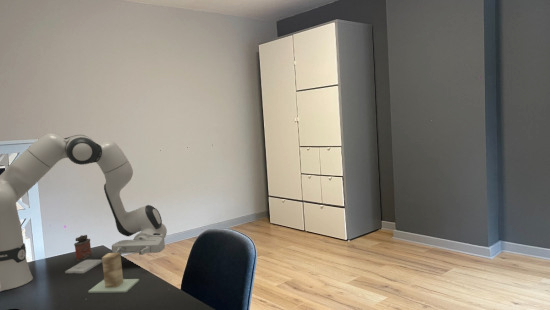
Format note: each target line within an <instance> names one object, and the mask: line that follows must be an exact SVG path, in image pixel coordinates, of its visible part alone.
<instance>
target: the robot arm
mask: <svg viewBox="0 0 550 310" xmlns="http://www.w3.org/2000/svg"><path fill="white" fill-rule="evenodd" d="M64 159H69V160H70V161H71V162H72V163H74V164H76V165H82V166H84V165H88V164H92V163H96V164H97V165H98V167H99V169H100V170H101V171H102V173H103V175H104V179H105V182H104V184H103V190H104V193H105V197H106V200H107V203H108V205H109V207H110V210H111V212H112V216H113V218H114V222H115V226H116V229H117V232H119V234H121V235H123V236H125V237H132V236H133V235H134V237H133V239H123V240H119V241H116V242H115V243H113V244H112V245H111V253H120V255H121V256H122V255H123V254H138V255H140V256H143V255H145V254H155V253H161V252H162V251H163V250H165V247H166V246H165V245H166V244H165V243H166V241H165V238H166V237H167V234H168V233H167V232H168V231H167V227H166V225H165V224H164V223H162V222H163V220H162V217H161V214H160V211H159V210H158V209H157V208H156V207H154V206H153V205H151V204H147V205H144V206H141V207H138V208H137V209H134V210H131V211H126V208H125V206H124V204H123V201H122V198H121V194H120V193H121V191H122V190H123V189H124V188H125V187H126V186H127V185H128V184H129V183H130V182H131V180H132V178H133V175H134V169H133V167H132V165H131V162H130V161H129V159H128V157H127V156H126V155H125V153H124V152H123V150H122V149H121V148H120V146H119V145H118V143H116V142H115V141H112V140H105V141H102V142H99V143H96V141H94V140H93V139H92V138H91V137H89V136H86V135H84V134H76V135H72V136H69V137H65V138H63V137H62V136H60V135H59V134H56V133H53V132H50V133H46V134H45V135H43V136H41V137H40V138H38V139H37V140H36V141H34V143H32V144H30V146H29V147H27V148H26V149H25V150H24V151H23V152H22V153H21V154H20V155H19V156H18V157H17V158H16V159H15V160H14V161H13V162H12V163H11V164H10V165H9V166H7V168H6V169H5V170H4V171H3V172H2V173H1V174H0V292H3V291H7V290H12V289H15V288H19V287H21V286H24V285H26V284H28V283H30V282H31V281H33V280H34V277H33V275H32V272H31V270H30V268H29V263H28V260H27V250H26V249H27V248H26V244H25V243H24V236H23V229H22V222H21V220H20V216H19V211H18V207H17V202H18V201H19V200H21V198H22V197H23V196H24V195H25V194H27V193H28V192H29V190H31V189H32V188H33V187H34V186H35V185H36V184H37V183H38V182H39V181H40V180H41V179H42V178H43V177H45V175H46V174H47V173H48V172H49V171H50V170H52V169H53V167H54V166H55V165H57V163H59V161H61V160H64ZM135 234H136V235H135Z"/></svg>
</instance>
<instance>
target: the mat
mask: <svg viewBox="0 0 550 310" xmlns="http://www.w3.org/2000/svg"><path fill="white" fill-rule="evenodd" d="M139 281H140V279H139V278H129V279H128V278H127V279H126V278H123V283H122V284H121V285H119V286H118V287H113V288H105V281H104V279H102V280H101V281H100V282H98V283H97V284H96V285H94V286H93V287H91V289H89V290H88V291H87V292H88V293H89V294H90V293H94V294H95V293H96V294H98V293H107V294H108V293H110V294H111V293H127V292H129V291H130V290H131V289H132V288H133V287H134V286H135V285H136V284H137V283H138V282H139Z"/></svg>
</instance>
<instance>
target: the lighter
mask: <svg viewBox="0 0 550 310" xmlns="http://www.w3.org/2000/svg"><path fill="white" fill-rule="evenodd" d="M73 245H74V249H75V261H76V262H82V261H84V260H87V259H88V258H90V257H92V255H93V253H92V249H91V248H92V247H91V238H88V234H83V235H80V236H78V237H75V243H73Z"/></svg>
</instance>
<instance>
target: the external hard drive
mask: <svg viewBox="0 0 550 310" xmlns="http://www.w3.org/2000/svg"><path fill="white" fill-rule="evenodd" d="M100 264H102V259H84V260H81V261H80V262H78V263H77V264H76V265H73V266H72V267H70V268H69V269H66V270H65V271H64V272H65V274H85V273H86V272H88V271H90V270H92V269H93V268H94V267H95V268H96V267H97V266H98V265H100Z"/></svg>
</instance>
